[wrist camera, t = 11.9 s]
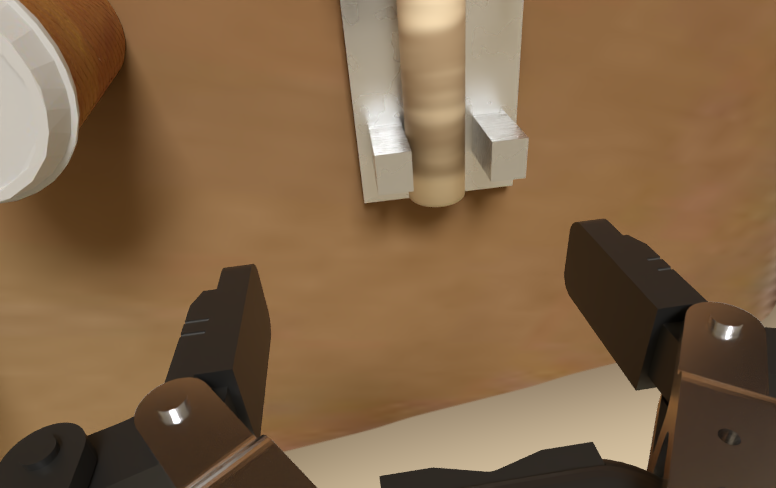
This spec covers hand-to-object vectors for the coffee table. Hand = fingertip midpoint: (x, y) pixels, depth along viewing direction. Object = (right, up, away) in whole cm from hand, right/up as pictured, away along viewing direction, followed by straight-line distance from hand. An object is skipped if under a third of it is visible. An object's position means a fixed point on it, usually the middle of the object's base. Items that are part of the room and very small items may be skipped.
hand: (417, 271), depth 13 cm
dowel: (+2, +12, +13) cm, 18 cm away
